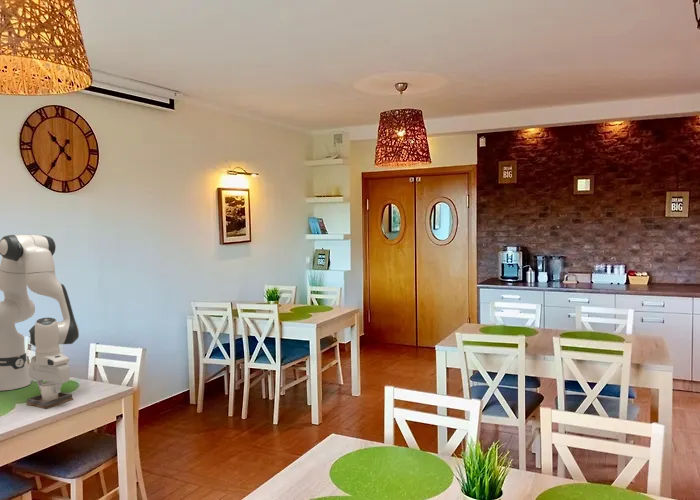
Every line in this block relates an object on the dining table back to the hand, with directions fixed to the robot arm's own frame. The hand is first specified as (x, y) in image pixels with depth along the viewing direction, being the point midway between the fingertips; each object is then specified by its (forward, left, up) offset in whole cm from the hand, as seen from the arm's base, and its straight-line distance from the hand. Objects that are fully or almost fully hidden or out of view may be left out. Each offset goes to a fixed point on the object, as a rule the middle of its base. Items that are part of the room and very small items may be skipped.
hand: (49, 391), depth 224 cm
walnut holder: (0, 0, -5) cm, 5 cm away
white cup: (0, 0, -4) cm, 4 cm away
